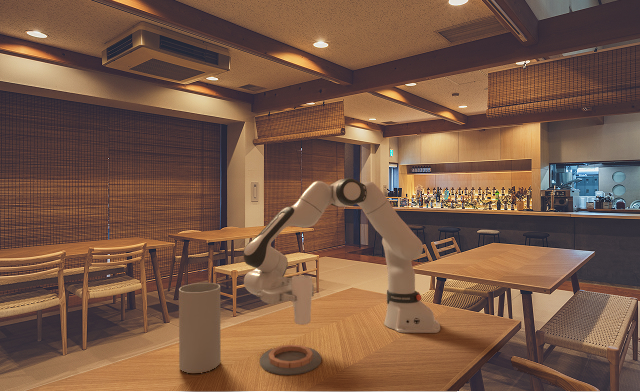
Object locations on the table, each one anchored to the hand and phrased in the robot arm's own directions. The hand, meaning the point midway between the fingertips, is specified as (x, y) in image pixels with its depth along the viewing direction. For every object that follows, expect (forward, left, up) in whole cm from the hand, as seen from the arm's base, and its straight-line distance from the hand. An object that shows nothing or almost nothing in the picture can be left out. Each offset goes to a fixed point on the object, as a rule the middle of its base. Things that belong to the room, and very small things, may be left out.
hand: (304, 296), depth 123 cm
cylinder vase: (+31, +12, -21) cm, 39 cm away
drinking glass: (+1, 0, -9) cm, 9 cm away
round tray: (+4, +2, -21) cm, 21 cm away
